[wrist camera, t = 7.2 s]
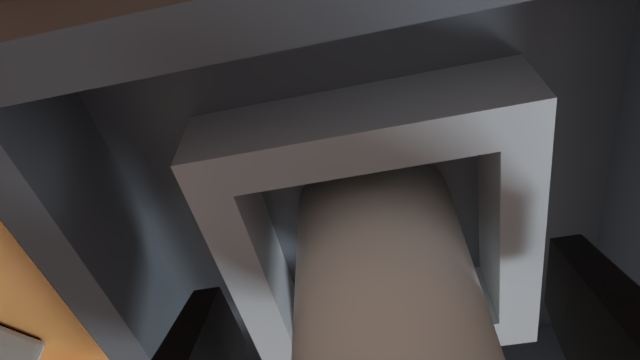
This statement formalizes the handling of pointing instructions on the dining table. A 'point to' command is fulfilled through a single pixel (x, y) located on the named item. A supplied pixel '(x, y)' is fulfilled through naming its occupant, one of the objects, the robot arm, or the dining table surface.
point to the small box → (19, 346)
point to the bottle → (387, 273)
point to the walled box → (307, 145)
